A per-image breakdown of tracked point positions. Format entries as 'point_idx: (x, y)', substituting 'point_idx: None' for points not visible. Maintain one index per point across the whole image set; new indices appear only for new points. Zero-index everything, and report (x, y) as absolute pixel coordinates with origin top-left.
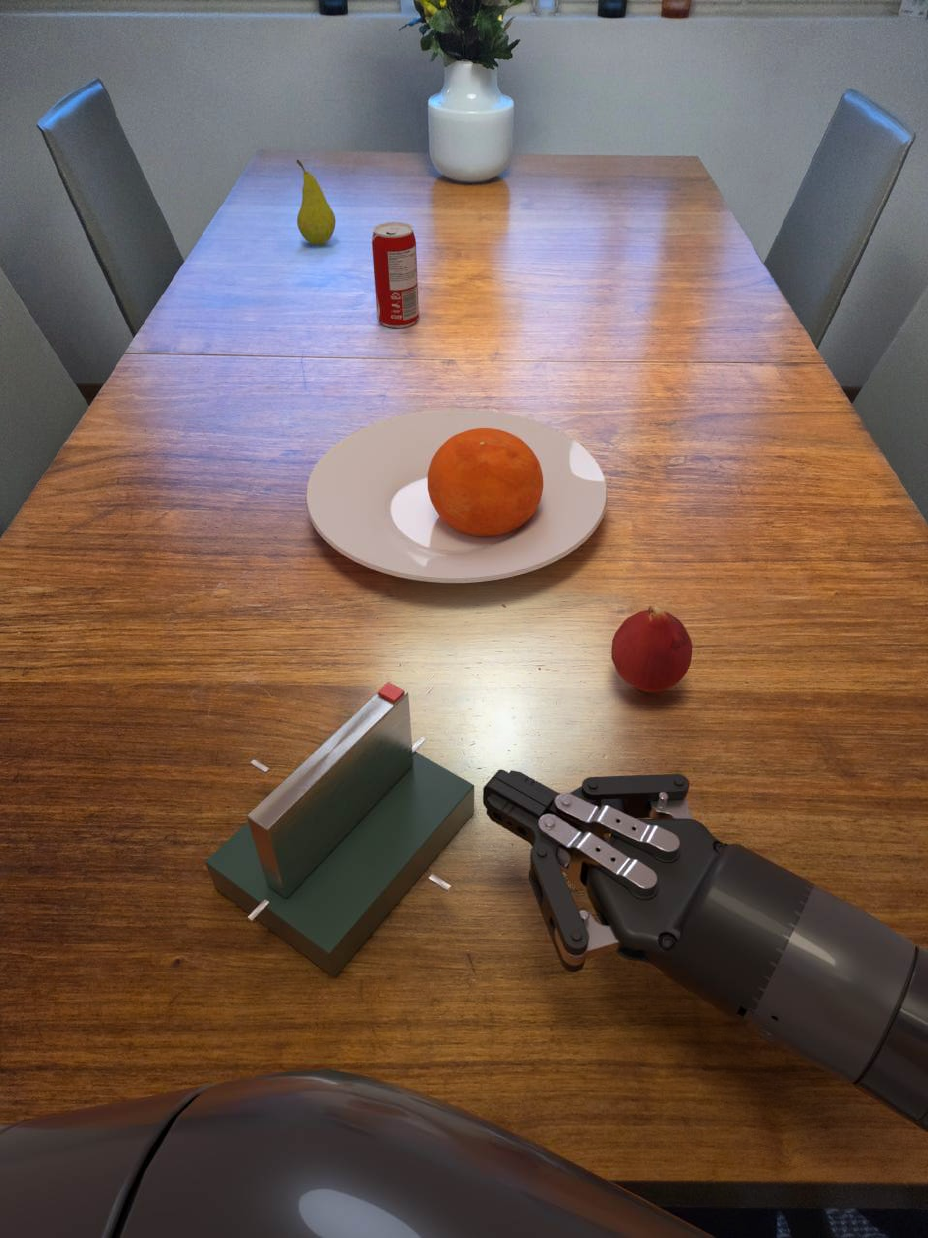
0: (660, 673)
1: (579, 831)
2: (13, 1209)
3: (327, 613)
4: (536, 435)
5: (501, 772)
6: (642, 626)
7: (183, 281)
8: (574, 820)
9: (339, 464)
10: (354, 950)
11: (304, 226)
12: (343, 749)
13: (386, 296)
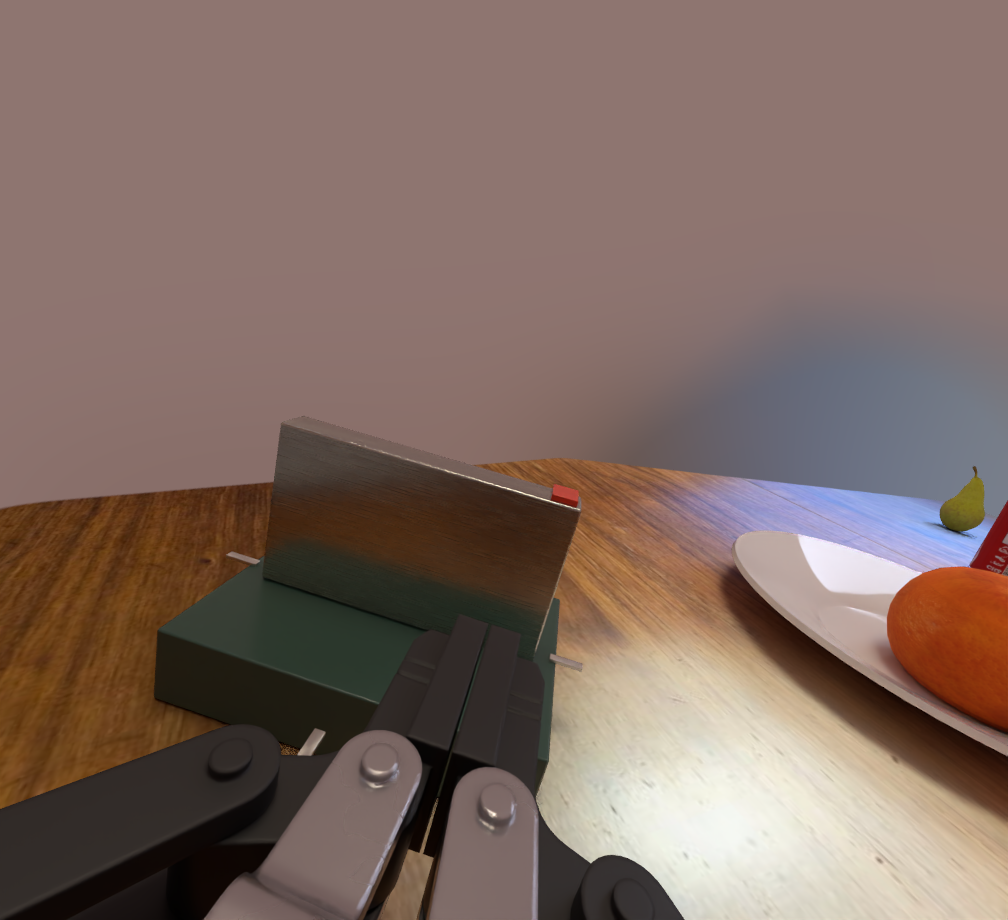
0: None
1: (364, 906)
2: None
3: (671, 589)
4: None
5: (512, 632)
6: None
7: (814, 486)
8: (434, 882)
9: (813, 549)
10: (199, 703)
11: (946, 509)
12: (439, 465)
13: (993, 546)
